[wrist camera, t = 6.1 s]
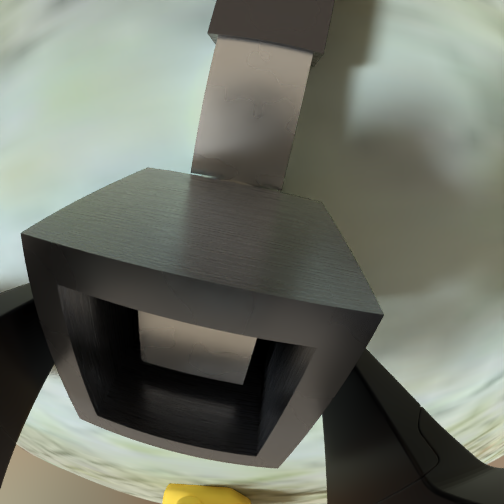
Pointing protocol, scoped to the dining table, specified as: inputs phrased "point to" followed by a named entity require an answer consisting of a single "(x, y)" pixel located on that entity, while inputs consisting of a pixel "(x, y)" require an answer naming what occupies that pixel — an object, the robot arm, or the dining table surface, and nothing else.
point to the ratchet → (243, 146)
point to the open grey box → (200, 310)
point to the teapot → (202, 495)
